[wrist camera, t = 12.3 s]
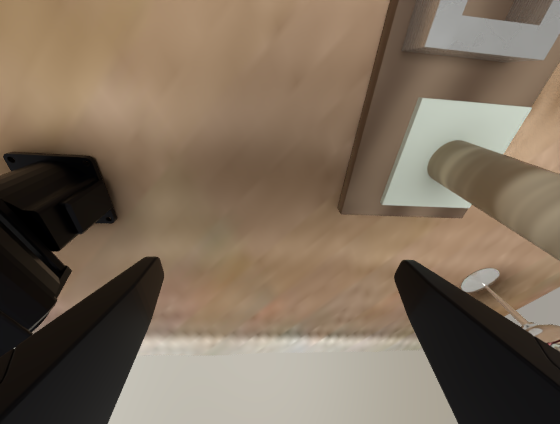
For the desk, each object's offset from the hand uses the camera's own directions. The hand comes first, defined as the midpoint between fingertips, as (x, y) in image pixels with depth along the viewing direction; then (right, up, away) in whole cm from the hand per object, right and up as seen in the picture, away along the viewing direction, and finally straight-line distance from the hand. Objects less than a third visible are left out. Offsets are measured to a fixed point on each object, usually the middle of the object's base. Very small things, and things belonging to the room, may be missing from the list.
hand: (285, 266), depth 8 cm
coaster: (+14, +7, +11) cm, 19 cm away
